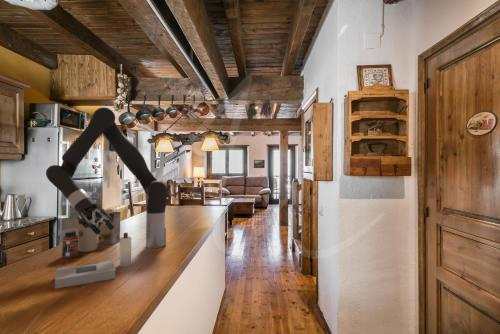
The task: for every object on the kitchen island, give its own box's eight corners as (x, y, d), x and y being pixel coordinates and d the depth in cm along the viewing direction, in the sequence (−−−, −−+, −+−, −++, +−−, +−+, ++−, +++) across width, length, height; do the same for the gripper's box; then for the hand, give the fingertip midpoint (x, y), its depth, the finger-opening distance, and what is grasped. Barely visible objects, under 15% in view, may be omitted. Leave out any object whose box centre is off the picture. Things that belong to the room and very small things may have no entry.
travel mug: (94, 246, 143) (94, 211, 143) (99, 250, 137) (99, 212, 137) (76, 249, 137) (76, 212, 137) (80, 253, 131) (81, 214, 131)
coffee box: (97, 243, 149) (97, 212, 149) (105, 240, 155) (105, 211, 156) (112, 244, 148) (113, 213, 148) (120, 241, 154) (121, 211, 154)
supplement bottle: (70, 259, 123) (70, 233, 123) (58, 258, 124) (59, 232, 124) (81, 255, 129) (81, 230, 129) (69, 254, 130) (70, 229, 130)
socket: (112, 268, 113) (112, 260, 113) (115, 278, 102) (115, 270, 102) (57, 276, 103) (57, 268, 103) (54, 288, 93) (55, 279, 93)
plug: (123, 262, 119) (124, 231, 119) (133, 263, 119) (133, 232, 119) (117, 266, 115) (117, 234, 115) (127, 266, 114) (127, 234, 114)
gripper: (74, 198, 113) (100, 228, 111) (99, 195, 127) (122, 221, 125) (63, 211, 114) (88, 241, 112) (88, 206, 128) (111, 233, 126)
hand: (106, 230), depth 118 cm, fingers open, 8 cm apart
